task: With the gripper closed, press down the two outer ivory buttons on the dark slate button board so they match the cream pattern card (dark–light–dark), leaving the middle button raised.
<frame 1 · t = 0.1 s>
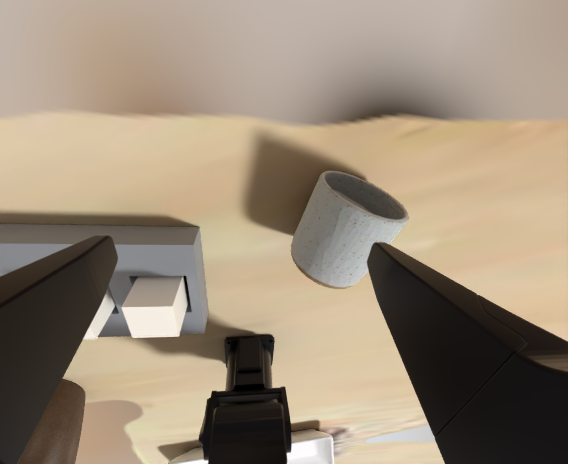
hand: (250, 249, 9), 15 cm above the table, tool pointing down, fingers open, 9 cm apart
ceramic mug: (344, 211, 26), on the table
button middle: (76, 306, 23), point 4 cm above the table, slide at 0.0 cm
tray: (257, 446, 56), on the table
button 2: (158, 304, 24), point 4 cm above the table, slide at 0.0 cm
plant pot: (58, 390, 37), on the table
button board: (99, 274, 27), on the table
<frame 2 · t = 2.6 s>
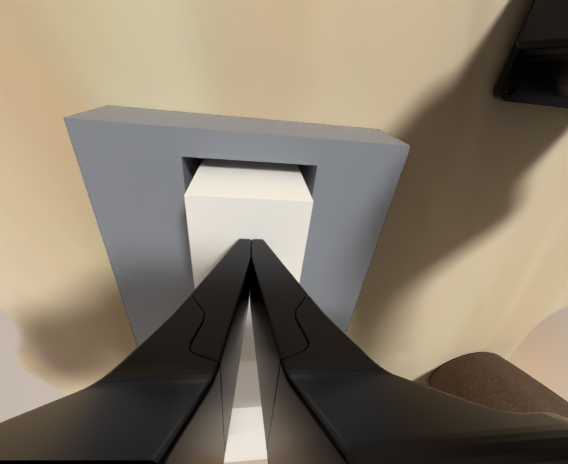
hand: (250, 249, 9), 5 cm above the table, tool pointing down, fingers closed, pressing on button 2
button middle: (245, 347, 14), point 4 cm above the table, slide at 0.0 cm
button 2: (249, 221, 11), point 3 cm above the table, slide at 1.1 cm, touching gripper
plant pot: (463, 370, 26), on the table
button 1: (243, 411, 17), point 4 cm above the table, slide at 0.0 cm
button board: (247, 289, 17), on the table
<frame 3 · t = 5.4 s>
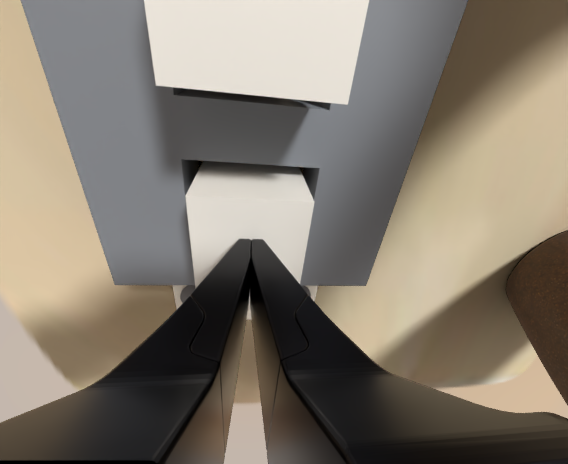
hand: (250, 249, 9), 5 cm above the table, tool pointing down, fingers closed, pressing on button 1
plant pot: (556, 264, 19), on the table
button 1: (250, 222, 11), point 3 cm above the table, slide at 1.3 cm, touching gripper
button board: (257, 18, 10), on the table
pattern card: (247, 292, 17), on the table
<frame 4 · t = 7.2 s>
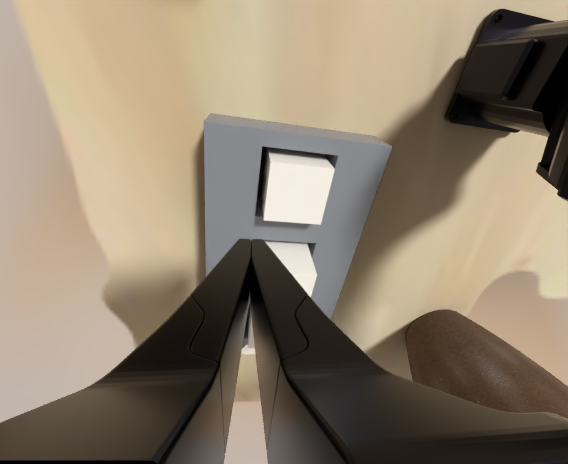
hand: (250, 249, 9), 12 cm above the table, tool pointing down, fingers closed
button middle: (282, 276, 21), point 4 cm above the table, slide at 0.0 cm
button 2: (293, 184, 19), point 2 cm above the table, slide at 1.8 cm
plant pot: (432, 326, 34), on the table
button 1: (270, 317, 26), point 2 cm above the table, slide at 1.8 cm
button board: (277, 245, 24), on the table
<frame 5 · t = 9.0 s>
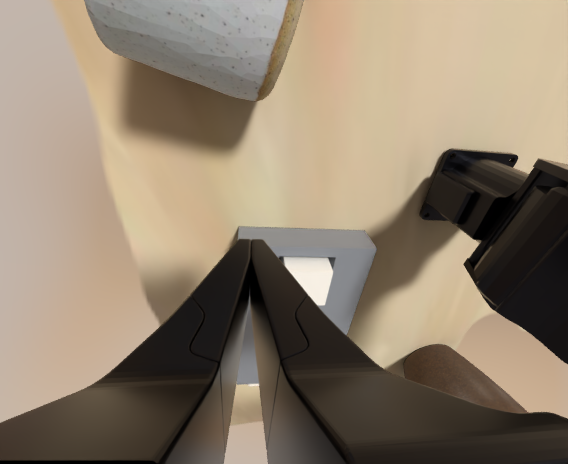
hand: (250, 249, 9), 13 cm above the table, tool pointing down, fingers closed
button 2: (302, 274, 24), point 2 cm above the table, slide at 1.8 cm
plant pot: (427, 357, 39), on the table
button board: (291, 306, 30), on the table
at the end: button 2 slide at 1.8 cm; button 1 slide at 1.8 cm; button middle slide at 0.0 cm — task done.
